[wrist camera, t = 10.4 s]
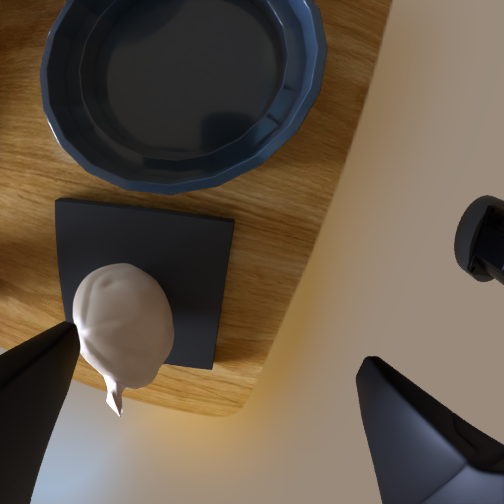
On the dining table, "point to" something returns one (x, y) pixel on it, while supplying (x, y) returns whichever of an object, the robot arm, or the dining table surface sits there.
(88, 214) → the coaster
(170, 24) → the glazed bowl
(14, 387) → the robot arm
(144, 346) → the garlic bulb
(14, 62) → the dining table surface
